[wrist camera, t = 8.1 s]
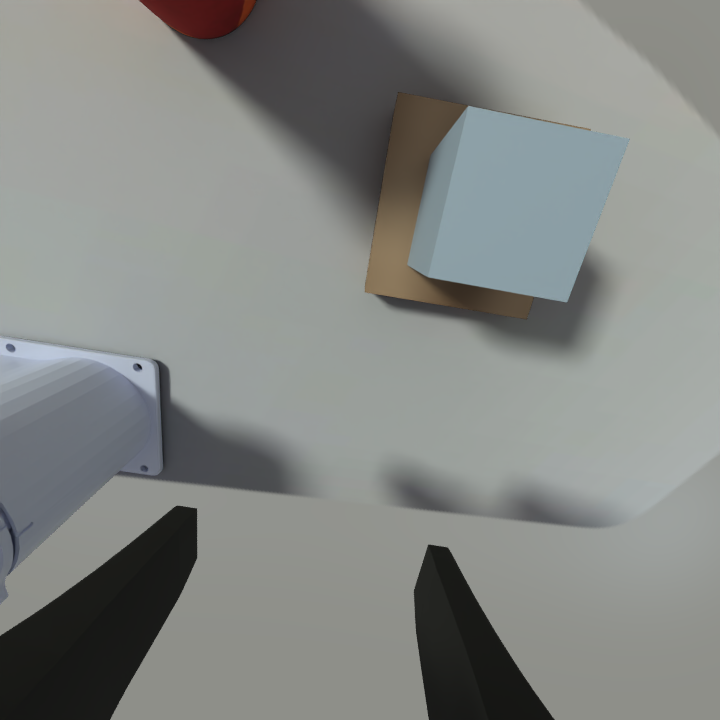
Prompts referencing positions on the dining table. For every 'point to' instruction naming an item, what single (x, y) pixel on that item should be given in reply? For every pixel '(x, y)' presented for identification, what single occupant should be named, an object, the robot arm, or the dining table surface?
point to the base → (400, 210)
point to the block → (513, 203)
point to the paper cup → (201, 15)
